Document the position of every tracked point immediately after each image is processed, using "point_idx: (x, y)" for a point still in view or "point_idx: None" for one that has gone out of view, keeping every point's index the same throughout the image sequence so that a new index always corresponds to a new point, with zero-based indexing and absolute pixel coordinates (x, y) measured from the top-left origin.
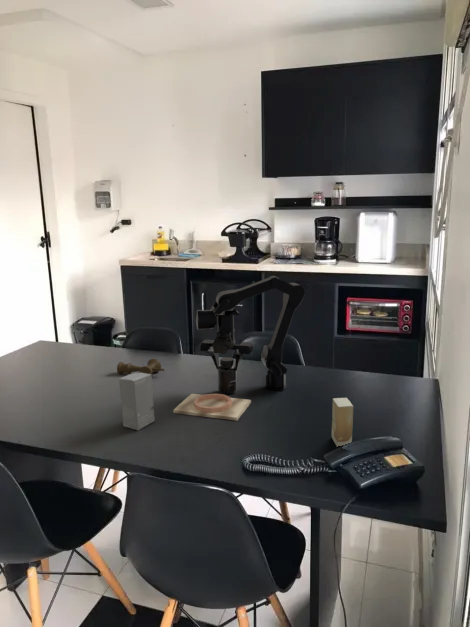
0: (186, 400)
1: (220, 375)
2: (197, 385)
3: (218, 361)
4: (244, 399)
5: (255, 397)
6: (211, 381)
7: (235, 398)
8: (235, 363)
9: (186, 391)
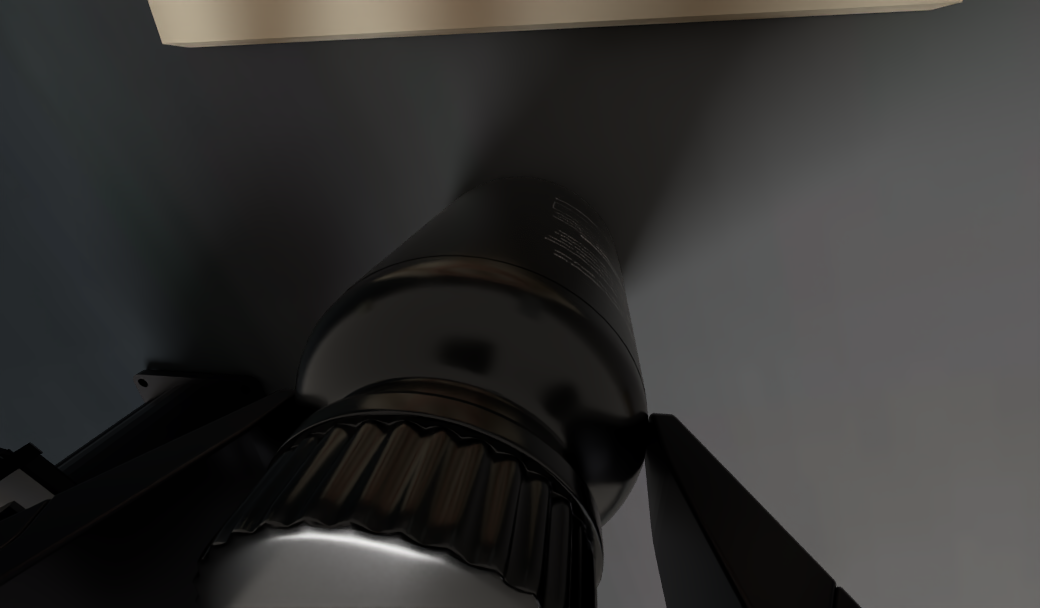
0: None
1: (549, 252)
2: (876, 353)
3: (676, 606)
4: (223, 31)
5: (233, 198)
6: (743, 454)
7: (323, 26)
8: (145, 490)
9: (1014, 161)
